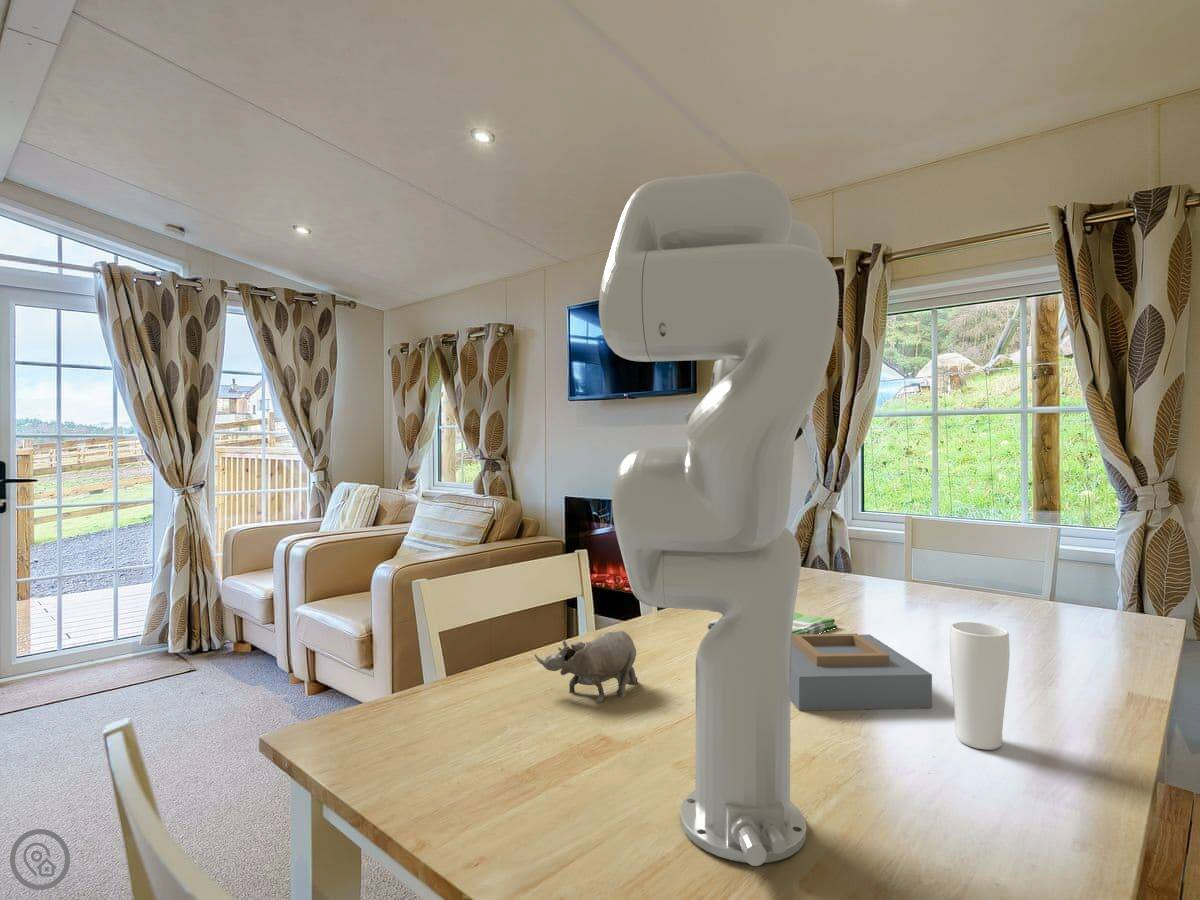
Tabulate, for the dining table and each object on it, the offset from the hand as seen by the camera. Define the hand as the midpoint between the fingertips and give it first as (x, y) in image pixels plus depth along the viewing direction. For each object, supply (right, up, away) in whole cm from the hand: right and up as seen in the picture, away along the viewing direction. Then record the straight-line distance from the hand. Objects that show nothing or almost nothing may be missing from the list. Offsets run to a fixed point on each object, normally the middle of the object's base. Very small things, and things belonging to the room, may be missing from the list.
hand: (746, 475), depth 90 cm
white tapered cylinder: (+30, -35, -4) cm, 46 cm away
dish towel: (+16, -35, +47) cm, 61 cm away
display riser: (+19, -35, +16) cm, 43 cm away
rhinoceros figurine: (-21, -35, +13) cm, 43 cm away
